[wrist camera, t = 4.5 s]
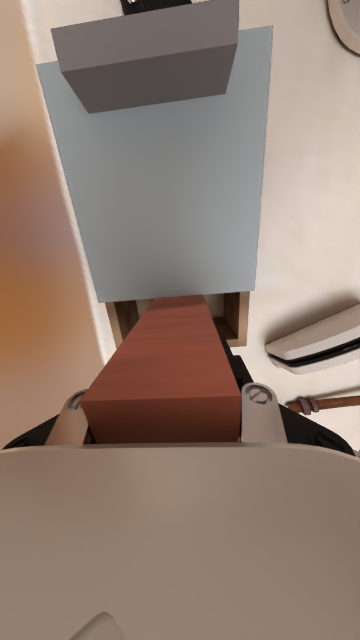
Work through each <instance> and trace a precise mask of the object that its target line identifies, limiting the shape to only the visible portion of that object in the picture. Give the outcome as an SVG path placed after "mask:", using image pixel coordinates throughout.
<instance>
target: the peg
mask: <svg viewBox="0 0 360 640" xmlns="http://www.w3.org/2000/svg"><path fill="white" fill-rule="evenodd" d="M241 397H242V396H241V393H240V390H239V388H238V385H237V382H236V380H235V377H234V375H233V372H232V369H231V367H230V364H229V362H228V359H227V356H226V354H225V351H224V348H223V346H222V343H221V341H220V338H219V335H218V333H217V330H216V327H215V325H214V322H213V320H212V317H211V314H210V312H209V309H208V307H207V304H206V301H205V299H204V296H203V295H192V296H179V297H166V298H154V300H153V301H152V303H151V304H150V305H149V307H148V308H147V309H146V311H145V312H144V313H143V315H142V316H141V318H140V319H139V320H138V322H137V323H136V324H135V326H134V327H133V329H132V330H131V331H130V333H129V334H128V335H127V337H126V338H125V339H124V341H123V342H122V344H121V345H120V346H119V348H118V349H117V350H116V352H115V353H114V354H113V356H112V357H111V359H110V360H109V361H108V363H107V364H106V365H105V367H104V368H103V370H102V371H101V372H100V374H99V375H98V376H97V378H96V379H95V380H94V382H93V383H92V385H91V386H90V387H89V389H88V390H87V391H86V393H85V394H84V395H83V397H82V398H81V400H80V401H79V402H80V404H81V407H82V409H83V412H84V414H85V416H86V419H87V421H88V424H89V426H90V429H91V431H92V434H93V436H94V438H95V441H96V443H97V444H128V443H202V442H239V429H240V413H241Z"/></svg>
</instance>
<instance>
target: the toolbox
mask: <svg viewBox="0 0 360 640" xmlns="http://www.w3.org/2000/svg"><path fill="white" fill-rule="evenodd" d="M249 294H250V291H243V292H230V293H217V294H205V295H203V296H204V299H205V301H206V304H207V307H208V309H209V312H210V314H211V317H212V320H213V322H214V325H215V327H216V330H217V333H218V335H219V337H221V336H224V337H225V339H226V341H227V343H228V345H229V347H240V346H246V343H247V327H248V310H249ZM153 300H154V299H141V300H128V301H115V302H105V305H106V309H107V313H108V317H109V320H110V324H111V328H112V332H113V336H114V340H115V344H116V348H117V349H118V348H119V346H120V345H121V344H122V342H123V341H124V339H125V338H126V337H127V335H128V334H129V333H130V331H131V330H132V329H133V327H134V326H135V324H136V323H137V322H138V320H139V319H140V318H141V316H142V315H143V313H144V312H145V311H146V309H147V308H148V307H149V305H150V304H151V303H152V301H153Z"/></svg>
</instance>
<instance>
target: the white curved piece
mask: <svg viewBox="0 0 360 640" xmlns="http://www.w3.org/2000/svg"><path fill="white" fill-rule="evenodd" d="M265 349H266V352H269V353H270V354H272V355H271V357H270V359H271V360H272V362H273V364H274V365H275V366H276V367H277V368H281V367H282V368H284V369H286V370H288V371H289V372H291V373H293V374H297V375H299V374H305V373H310V372H315V371H319V370H323V369H327V368H330V367H334V366H337V365H340V364H344V363H347V362H350V361H353V360H356V359H358V358H360V303H359V304H357V305H355V306H352V307H350V308H348V309H346V310H343V311H341V312H339V313H336V314H334V315H332V316H330V317H327V318H325V319H323V320H321V321H318V322H316V323H314V324H312V325H309V326H307V327H305V328H303V329H300V330H298V331H296V332H294V333H291V334H289V335H287V336H284V337H282V338H280V339H278V340H275V341H273V342H271V343H269V344H266V345H265Z"/></svg>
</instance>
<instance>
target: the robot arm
mask: <svg viewBox="0 0 360 640" xmlns="http://www.w3.org/2000/svg"><path fill="white" fill-rule="evenodd" d="M328 4H329V12H330V16H331V19H332V23H333V26H334V29H335V30H336V32H337V34H338V36H339V38H340V40H341V41H342V42H343V43H344V44H345V45H346V46H347V47H348V48H349V49H351V50H353V51H355V52H356V53H358V54H360V0H328ZM219 338H220V341H221V343H222V346H223V348H224V351H225V354H226V356H227V359H228V362H229V364H230V367H231V369H232V372H233V375H234V377H235V380H236V382H237V385H238V388H239V390H240V393H241V396H242V397H241V413H240V429H239V442H202V443H128V444H97V443H96V441H95V438H94V436H93V434H92V431H91V429H90V426H89V424H88V421H87V419H86V416H85V414H84V412H83V409H82V407H81V404H80V402H79V401H80V400H81V398H82V397H83V395H84V394H85V393H86V391H87V390H88V389H85V390H82V391H79V392H77V393H75V394H74V395H72V396H71V397H70V398H69V399H68V400H67V401H66V403H65V404H64V406H63V408H62V410H61V412H60V414H58V415H56V416H55V417H53V418H51V419H49V420H48V421H46V422H44V423H42V424H41V425H38V426H37V427H35V428H33V429H31V430H29V431H28V432H26V433H24V434H22V435H20V436H19V437H17V438H15V439H14V440H13V441H11V442H10V443H9V444H7V445H6V446H5V447H4V448H3V449H2V450H0V640H360V450H359V452H357V451H355V450H353V449H352V448H351V447H350V445H349V444H348V443H347V442H346V441H345V440H344V439H343V438H342V437H340V436H339V435H338V434H336V433H334V432H333V431H331V430H329V429H327V428H325V427H323V426H321V425H319V424H317V423H316V422H314V421H312V420H310V419H308V418H306V417H304V416H302V415H300V414H298V413H296V412H294V411H292V410H291V409H289V408H287V407H285V406H283V405H281V404H279V403H278V401H277V397H276V395H275V393H274V392H273V391H272V389H270V388H269V387H267V386H265V385H263V384H260V383H254V382H253V380H252V378H251V376H250V374H249V372H248V370H247V368H246V366H245V364H244V362H243V360H242V358H241V357H240V355H233V354H232V352H231V350H230V347H229V345H228V343H227V341H226V339H225V337H224V336H221V337H219Z"/></svg>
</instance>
